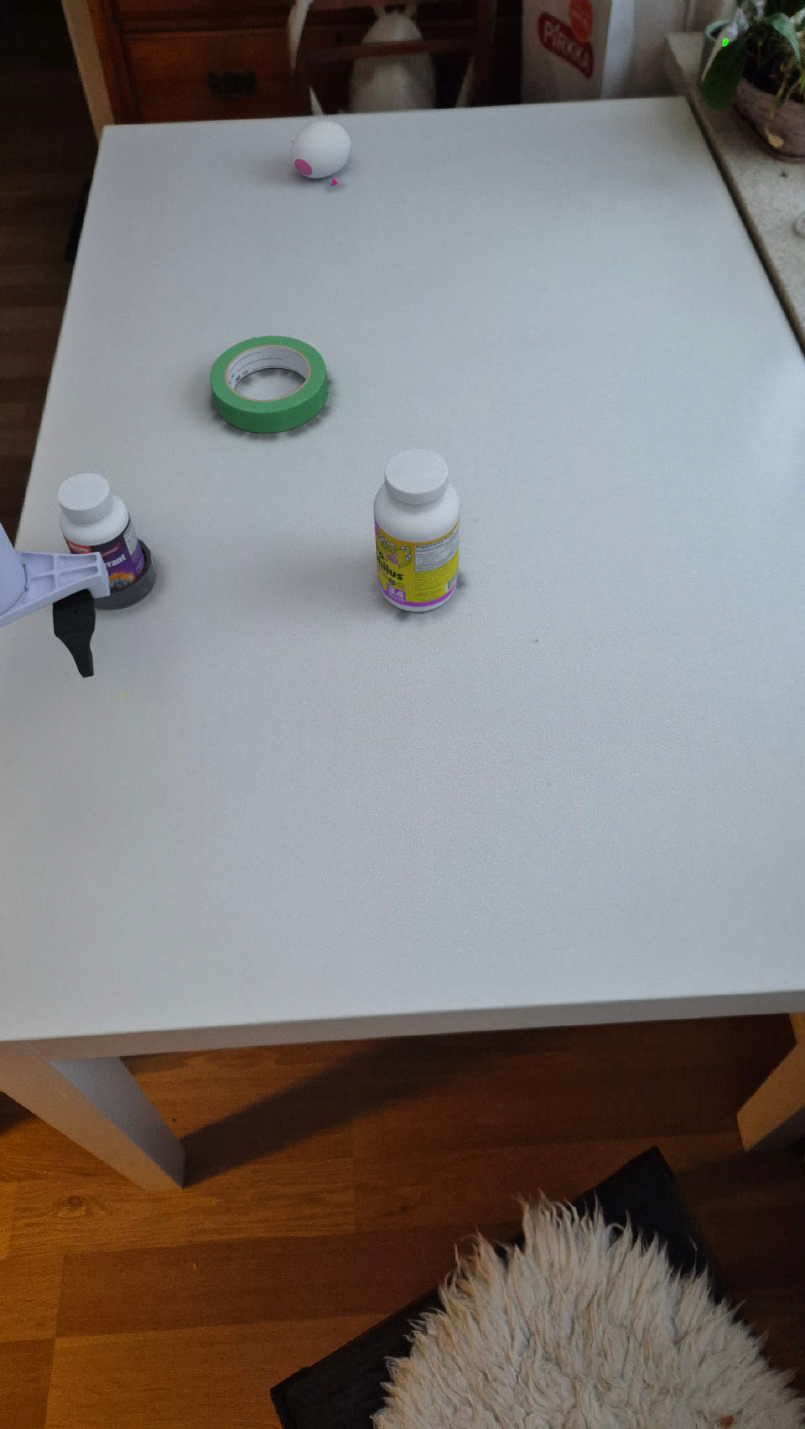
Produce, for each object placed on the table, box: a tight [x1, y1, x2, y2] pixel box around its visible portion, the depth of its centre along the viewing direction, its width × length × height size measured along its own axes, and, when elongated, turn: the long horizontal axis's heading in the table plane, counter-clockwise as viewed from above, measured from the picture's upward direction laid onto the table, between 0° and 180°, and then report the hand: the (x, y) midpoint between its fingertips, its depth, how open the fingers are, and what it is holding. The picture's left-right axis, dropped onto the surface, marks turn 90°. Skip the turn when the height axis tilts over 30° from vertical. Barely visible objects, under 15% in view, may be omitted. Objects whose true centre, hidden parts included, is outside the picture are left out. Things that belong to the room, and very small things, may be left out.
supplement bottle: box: [373, 448, 461, 613], centre depth 79 cm, size 7×7×13 cm
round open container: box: [94, 538, 157, 610], centre depth 85 cm, size 7×7×2 cm
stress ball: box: [289, 120, 352, 186], centre depth 118 cm, size 8×8×7 cm
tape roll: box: [209, 335, 329, 434], centre depth 97 cm, size 11×11×3 cm
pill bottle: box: [56, 472, 146, 590], centre depth 81 cm, size 5×5×10 cm
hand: (29, 677), depth 67 cm, fingers open, 7 cm apart
